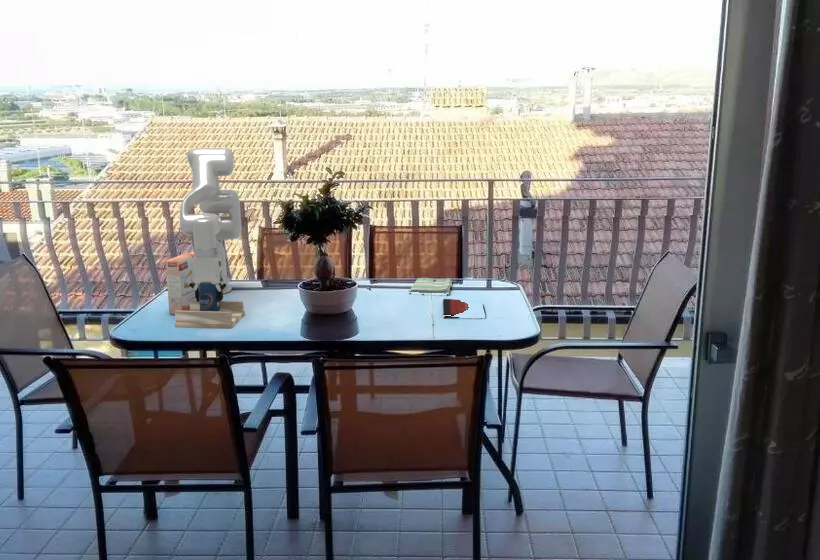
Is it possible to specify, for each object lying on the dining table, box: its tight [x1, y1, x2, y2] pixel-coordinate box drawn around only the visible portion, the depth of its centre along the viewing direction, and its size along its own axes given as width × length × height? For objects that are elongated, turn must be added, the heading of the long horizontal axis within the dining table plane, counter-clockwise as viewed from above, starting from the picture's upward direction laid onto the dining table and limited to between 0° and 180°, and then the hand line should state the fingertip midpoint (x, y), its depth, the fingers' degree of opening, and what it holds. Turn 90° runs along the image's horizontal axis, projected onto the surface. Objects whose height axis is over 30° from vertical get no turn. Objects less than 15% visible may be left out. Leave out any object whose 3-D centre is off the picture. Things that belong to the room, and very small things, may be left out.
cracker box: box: [165, 252, 196, 316], centre depth 246 cm, size 14×6×21 cm, turn 168°
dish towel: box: [408, 277, 454, 294], centre depth 281 cm, size 17×23×4 cm
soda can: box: [198, 283, 220, 311], centre depth 234 cm, size 7×7×12 cm
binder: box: [442, 298, 469, 316], centre depth 250 cm, size 16×2×21 cm
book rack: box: [174, 300, 246, 329], centre depth 235 cm, size 16×20×6 cm
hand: (209, 300), depth 234 cm, fingers closed on soda can, 7 cm apart
